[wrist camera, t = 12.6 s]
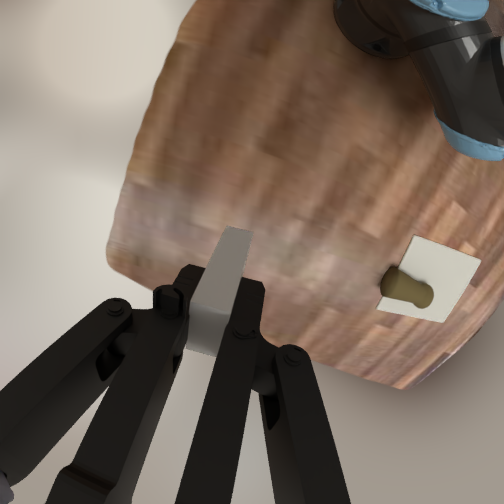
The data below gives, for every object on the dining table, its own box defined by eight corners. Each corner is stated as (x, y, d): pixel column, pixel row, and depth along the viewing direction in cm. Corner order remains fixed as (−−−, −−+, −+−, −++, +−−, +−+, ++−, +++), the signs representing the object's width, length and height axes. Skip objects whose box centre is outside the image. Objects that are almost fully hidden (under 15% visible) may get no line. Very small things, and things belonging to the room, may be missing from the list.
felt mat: (375, 307, 57) (376, 309, 56) (413, 234, 47) (414, 235, 47) (442, 321, 56) (442, 322, 56) (480, 259, 47) (481, 260, 47)
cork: (403, 274, 46) (442, 292, 46) (391, 261, 51) (429, 279, 52) (386, 303, 48) (426, 318, 49) (377, 287, 53) (415, 303, 54)
